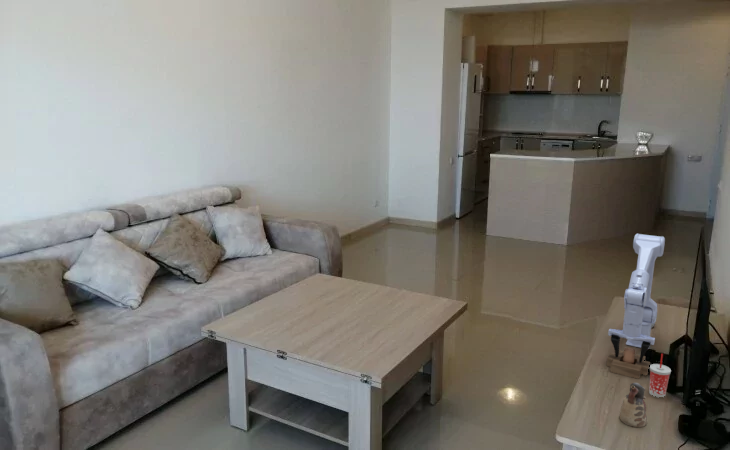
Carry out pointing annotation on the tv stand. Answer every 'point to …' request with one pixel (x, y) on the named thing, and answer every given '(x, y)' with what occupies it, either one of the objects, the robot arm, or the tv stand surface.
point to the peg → (629, 355)
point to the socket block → (627, 365)
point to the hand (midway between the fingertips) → (628, 358)
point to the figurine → (634, 407)
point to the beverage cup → (659, 379)
